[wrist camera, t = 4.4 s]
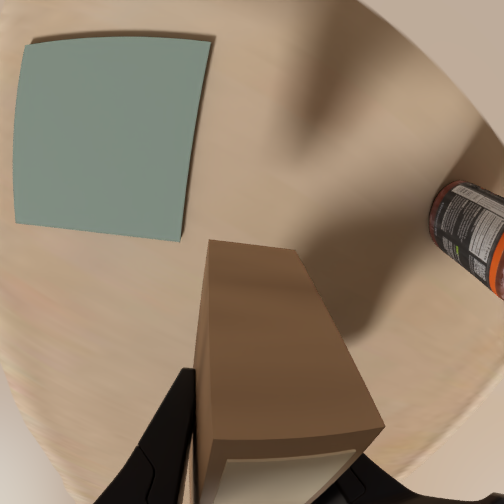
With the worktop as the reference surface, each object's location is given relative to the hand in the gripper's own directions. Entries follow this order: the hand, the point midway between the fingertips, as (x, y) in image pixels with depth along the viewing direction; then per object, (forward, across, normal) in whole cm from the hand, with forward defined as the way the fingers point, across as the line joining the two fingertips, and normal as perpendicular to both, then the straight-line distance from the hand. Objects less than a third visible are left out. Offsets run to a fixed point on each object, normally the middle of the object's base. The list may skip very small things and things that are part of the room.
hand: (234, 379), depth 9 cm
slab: (+1, 0, 0) cm, 1 cm away
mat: (+12, +8, -5) cm, 15 cm away
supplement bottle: (+12, -18, -4) cm, 22 cm away
